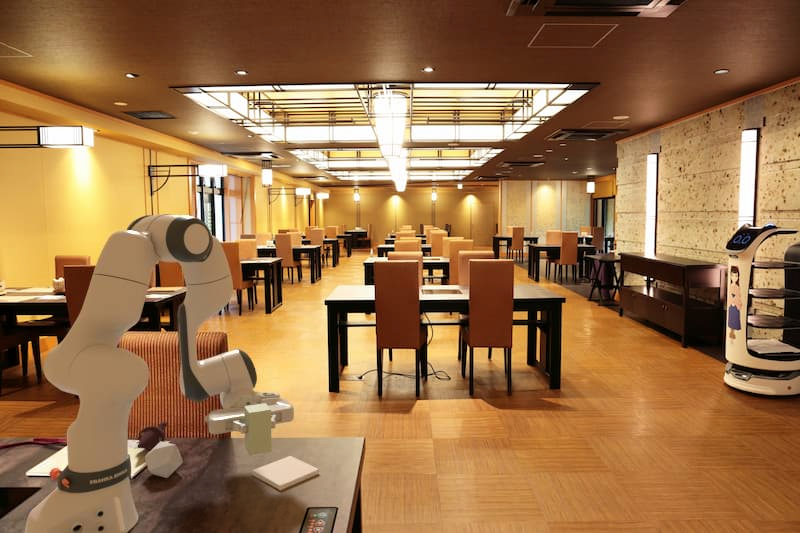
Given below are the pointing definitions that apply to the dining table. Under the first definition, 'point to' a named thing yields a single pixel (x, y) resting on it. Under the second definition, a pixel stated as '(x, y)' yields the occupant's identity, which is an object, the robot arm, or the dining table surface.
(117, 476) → the robot arm
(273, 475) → the cream tile
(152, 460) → the die
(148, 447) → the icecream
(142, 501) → the dining table surface
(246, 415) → the green block
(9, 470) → the dining table surface
